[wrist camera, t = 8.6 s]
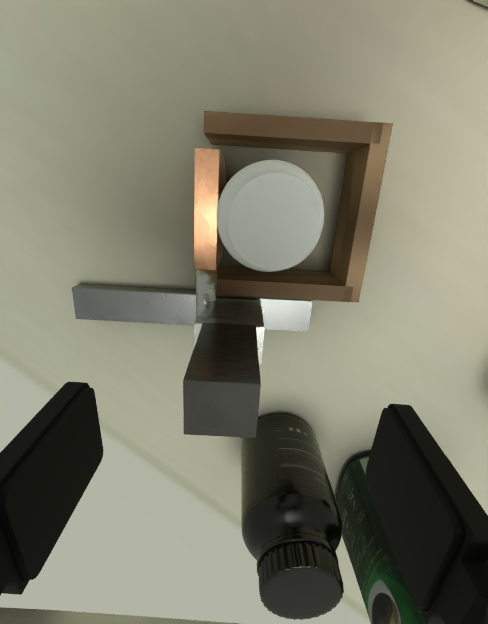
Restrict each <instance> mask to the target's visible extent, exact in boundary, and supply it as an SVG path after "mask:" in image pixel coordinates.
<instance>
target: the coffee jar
mask: <svg viewBox="0 0 488 624" xmlns="http://www.w3.org/2000/svg"><path fill="white" fill-rule="evenodd" d="M369 456H370V455H368V456H364V457H361V458H358V459H356V460H354V461H352V462H351V463H350V464H349V465H348V467H347V469H346V470H345V473H344V475H343V477H342V480H341V483H340V486H339V490H338V494H337V500H336V503H337V506H338V509H339V513H340V517H341V521H342V537H343V540H344V543H345V546H346V549H347V552H348V554H349V557H350V560H351V563H352V566H353V569H354V572H355V575H356V578H357V582H358V585H359V588H360V591H361V594H362V597H363V600H364V603H365V606H366V609H367V613H368V616H369V619H370V622H371V624H426V623H425V620H424V618H423V615H422V613H421V610H420V609H418V608H416V607H415V606H414V605H413V603H412V601H411V599H410V596H409V593H408V590H407V588H406V585H405V582H404V580H403V577H402V574H401V572H400V569H399V566H398V563H397V561H396V558H395V555H394V553H393V550H392V547H391V545H390V542H389V539H388V536H387V534H386V531H385V528H384V526H383V523H382V520H381V518H380V515H379V512H378V509H377V507H376V504H375V501H374V499H373V496H372V493H371V491H370V488H369V485H368V483H367V479H366V467H367V463H368V460H369Z"/></svg>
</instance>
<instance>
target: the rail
mask: <svg viewBox="0 0 488 624" xmlns="http://www.w3.org/2000/svg"><path fill="white" fill-rule="evenodd" d="M72 292H73V299H74V307H75V314H76V319H89V320H107V321H125V322H143V323H161V324H179V325H194V323H195V320H196V290H182V289H165V288H147V287H130V286H112V285H95V284H79V285H77V286H75V287H73V288H72ZM216 298H228V299H246V300H261V307H262V314H263V321H264V329H269V330H287V331H305V332H308V331H309V324H310V317H311V310H312V302H313V301H312V300H307V299H290V298H272V297H255V296H237V295H220V294H216Z"/></svg>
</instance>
